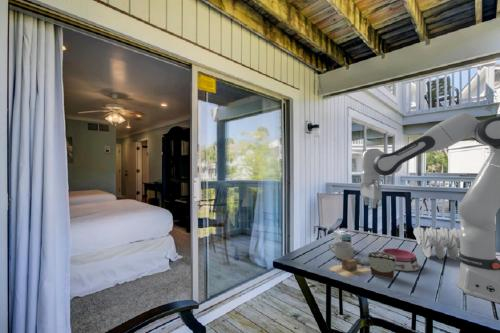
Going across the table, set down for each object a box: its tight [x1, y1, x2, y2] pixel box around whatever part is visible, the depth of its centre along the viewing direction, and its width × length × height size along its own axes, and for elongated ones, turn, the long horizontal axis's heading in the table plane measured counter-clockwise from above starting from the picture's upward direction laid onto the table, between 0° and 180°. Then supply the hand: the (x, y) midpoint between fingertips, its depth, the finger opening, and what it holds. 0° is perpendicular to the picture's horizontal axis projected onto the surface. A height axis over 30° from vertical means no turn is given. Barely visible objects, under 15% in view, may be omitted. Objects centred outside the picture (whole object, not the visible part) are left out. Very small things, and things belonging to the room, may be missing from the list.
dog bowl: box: [381, 247, 420, 273], centre depth 131 cm, size 18×19×7 cm
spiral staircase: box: [413, 225, 460, 260], centre depth 139 cm, size 18×18×25 cm
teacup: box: [328, 242, 355, 261], centre depth 142 cm, size 14×11×8 cm
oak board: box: [326, 263, 371, 279], centre depth 126 cm, size 14×18×1 cm
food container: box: [367, 251, 397, 280], centre depth 119 cm, size 12×6×10 cm, turn 58°
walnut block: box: [341, 257, 358, 272], centre depth 126 cm, size 5×5×5 cm
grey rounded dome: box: [355, 256, 370, 266], centre depth 135 cm, size 9×9×1 cm
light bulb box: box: [333, 230, 353, 245], centre depth 158 cm, size 11×7×11 cm, turn 9°
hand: (370, 206), depth 129 cm, fingers open, 8 cm apart
